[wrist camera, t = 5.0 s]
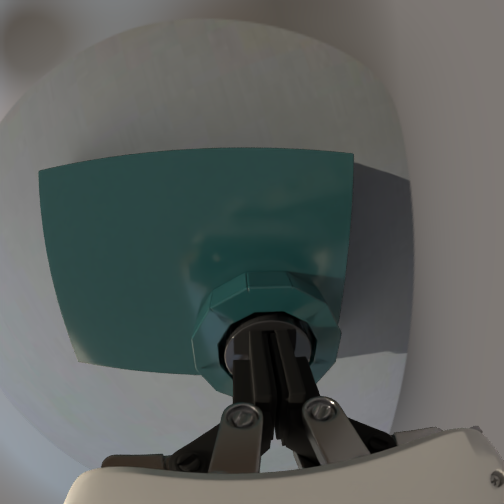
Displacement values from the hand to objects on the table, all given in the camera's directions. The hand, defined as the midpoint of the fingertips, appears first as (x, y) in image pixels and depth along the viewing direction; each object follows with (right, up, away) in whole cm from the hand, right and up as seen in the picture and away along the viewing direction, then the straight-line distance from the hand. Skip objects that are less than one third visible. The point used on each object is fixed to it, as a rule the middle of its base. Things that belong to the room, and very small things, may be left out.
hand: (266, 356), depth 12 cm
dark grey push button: (0, 0, +2) cm, 2 cm away
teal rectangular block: (-4, +4, +4) cm, 7 cm away
